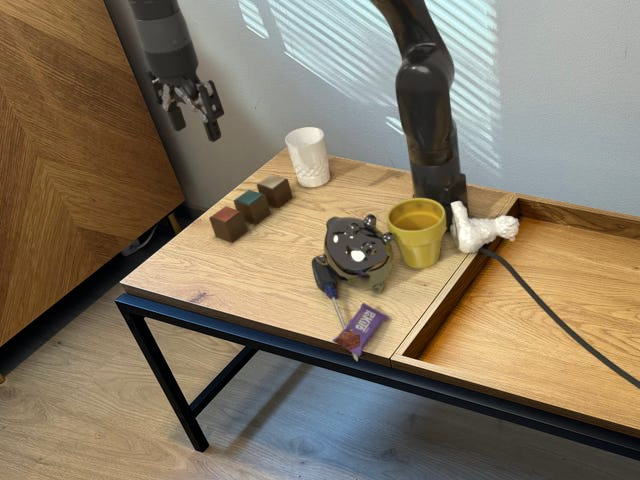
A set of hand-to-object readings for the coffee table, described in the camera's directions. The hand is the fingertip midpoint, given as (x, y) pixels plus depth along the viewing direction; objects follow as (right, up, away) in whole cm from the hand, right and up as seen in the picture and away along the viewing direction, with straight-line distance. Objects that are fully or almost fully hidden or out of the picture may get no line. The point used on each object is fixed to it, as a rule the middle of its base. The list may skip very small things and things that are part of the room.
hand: (197, 134), depth 136 cm
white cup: (+13, -1, +33) cm, 36 cm away
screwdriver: (+23, -31, 0) cm, 38 cm away
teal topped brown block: (+3, -10, +24) cm, 26 cm away
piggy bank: (+30, -16, -1) cm, 34 cm away
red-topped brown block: (0, -14, +20) cm, 25 cm away
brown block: (+7, -6, +28) cm, 29 cm away
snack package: (+26, -32, -6) cm, 42 cm away
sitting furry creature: (+43, -16, +10) cm, 47 cm away
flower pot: (+37, -20, +11) cm, 44 cm away
